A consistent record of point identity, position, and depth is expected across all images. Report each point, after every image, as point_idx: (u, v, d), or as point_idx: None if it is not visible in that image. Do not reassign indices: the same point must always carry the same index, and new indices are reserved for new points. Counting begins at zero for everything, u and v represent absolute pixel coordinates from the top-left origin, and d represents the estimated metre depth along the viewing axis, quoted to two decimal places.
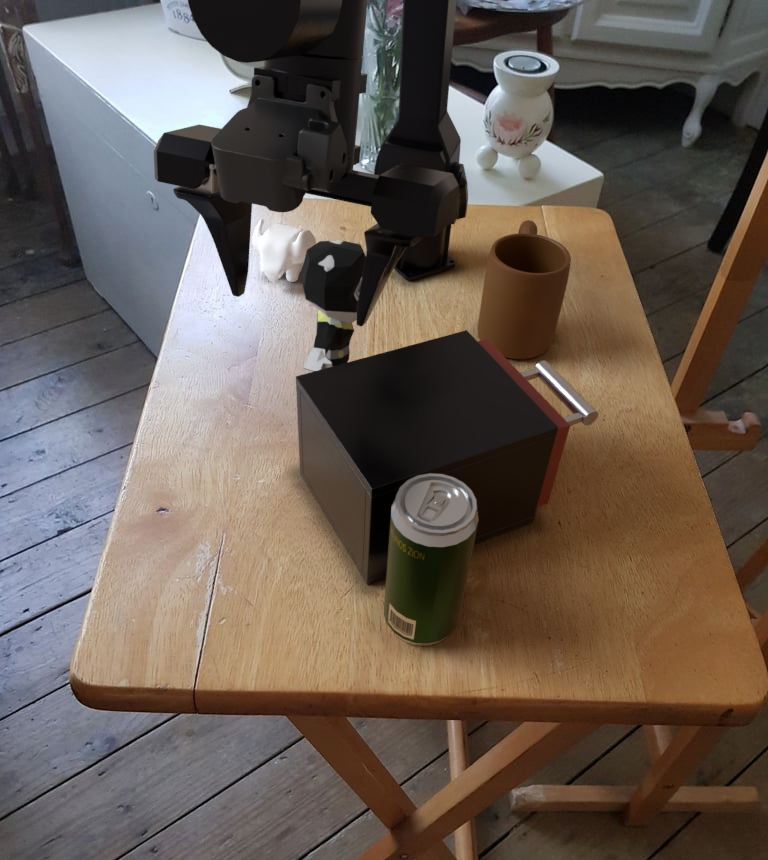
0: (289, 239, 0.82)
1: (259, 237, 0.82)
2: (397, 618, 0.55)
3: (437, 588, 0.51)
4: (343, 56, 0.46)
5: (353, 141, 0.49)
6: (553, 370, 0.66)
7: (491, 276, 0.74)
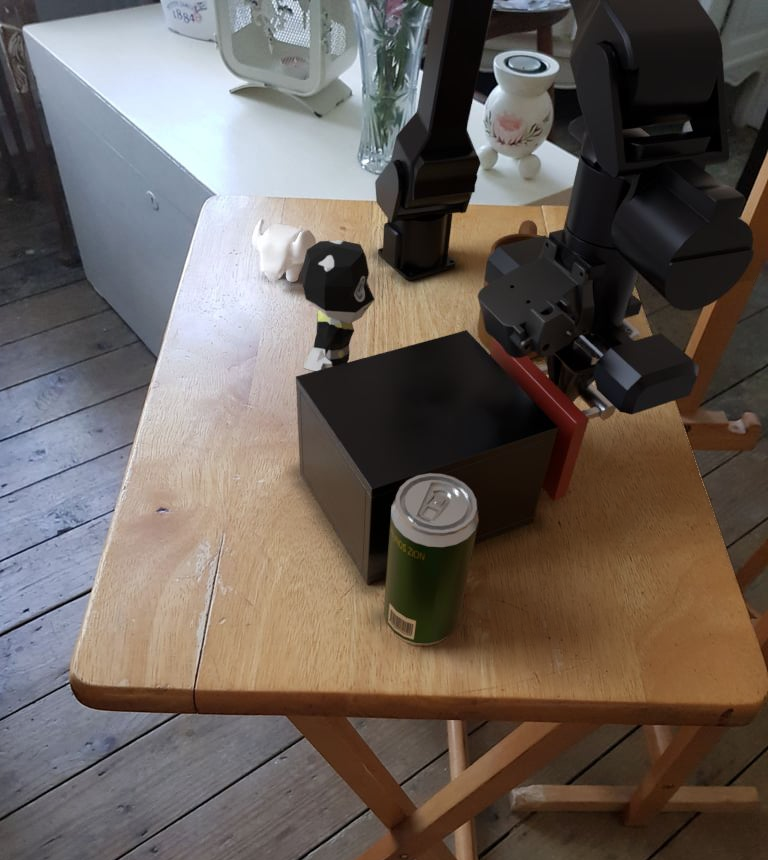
0: (289, 239, 0.82)
1: (259, 237, 0.82)
2: (397, 618, 0.55)
3: (437, 588, 0.51)
4: (612, 246, 0.53)
5: (619, 305, 0.56)
6: None
7: None
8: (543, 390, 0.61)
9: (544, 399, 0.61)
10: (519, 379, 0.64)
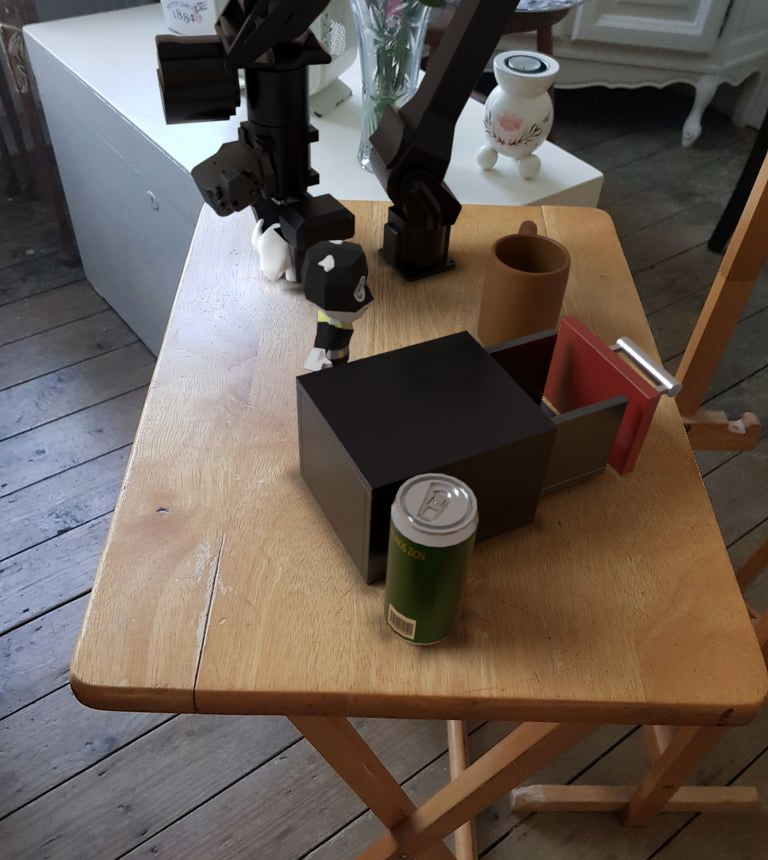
0: None
1: (259, 237, 0.82)
2: (397, 618, 0.55)
3: (437, 588, 0.51)
4: (276, 126, 0.73)
5: (296, 174, 0.76)
6: (635, 345, 0.69)
7: (491, 276, 0.74)
8: (615, 368, 0.64)
9: (616, 376, 0.64)
10: (589, 358, 0.66)
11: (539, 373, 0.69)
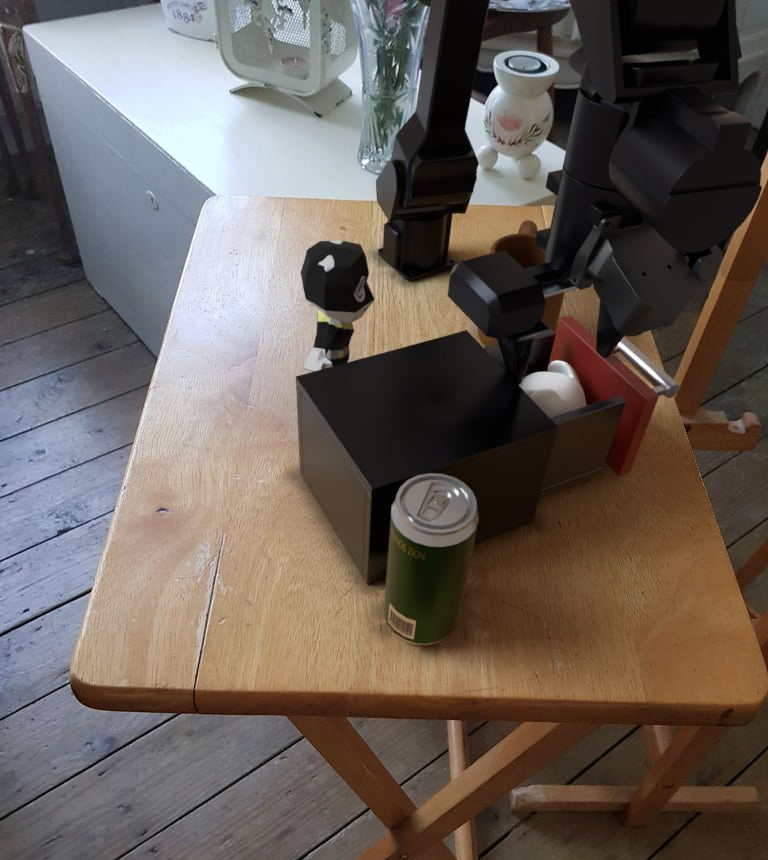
0: (571, 377, 0.65)
1: (565, 402, 0.63)
2: (397, 618, 0.55)
3: (437, 588, 0.51)
4: None
5: None
6: (633, 346, 0.69)
7: None
8: (612, 368, 0.63)
9: (613, 377, 0.64)
10: (586, 358, 0.66)
11: None
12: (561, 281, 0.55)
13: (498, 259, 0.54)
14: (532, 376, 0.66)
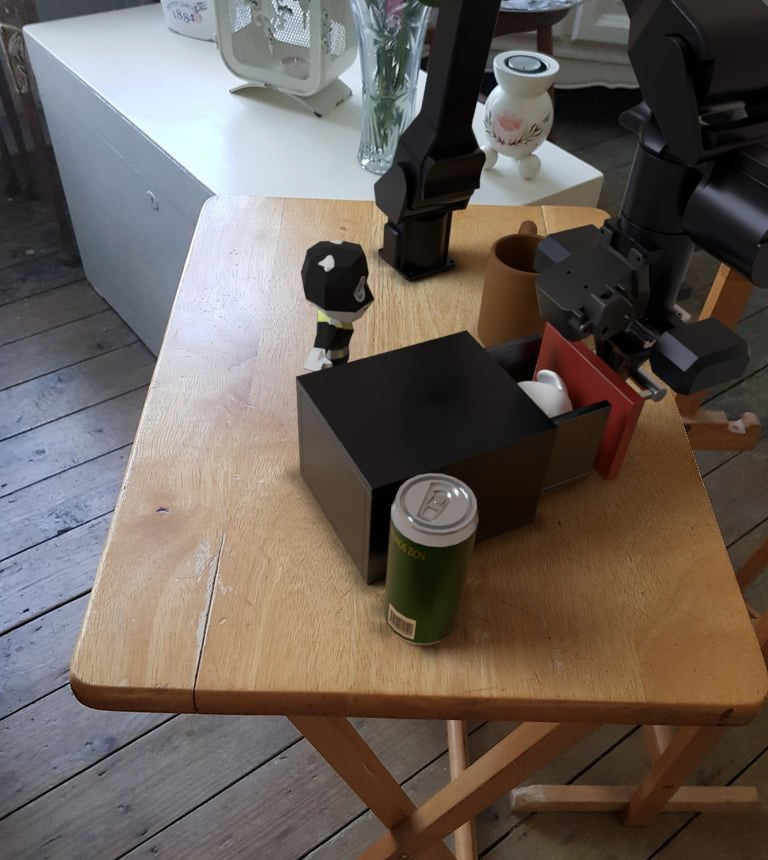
0: (559, 389, 0.64)
1: None
2: (397, 618, 0.55)
3: (437, 588, 0.51)
4: (669, 232, 0.54)
5: (672, 289, 0.58)
6: None
7: (491, 276, 0.74)
8: (599, 373, 0.63)
9: (600, 381, 0.63)
10: (573, 362, 0.66)
11: (524, 378, 0.68)
12: None
13: None
14: (520, 386, 0.65)
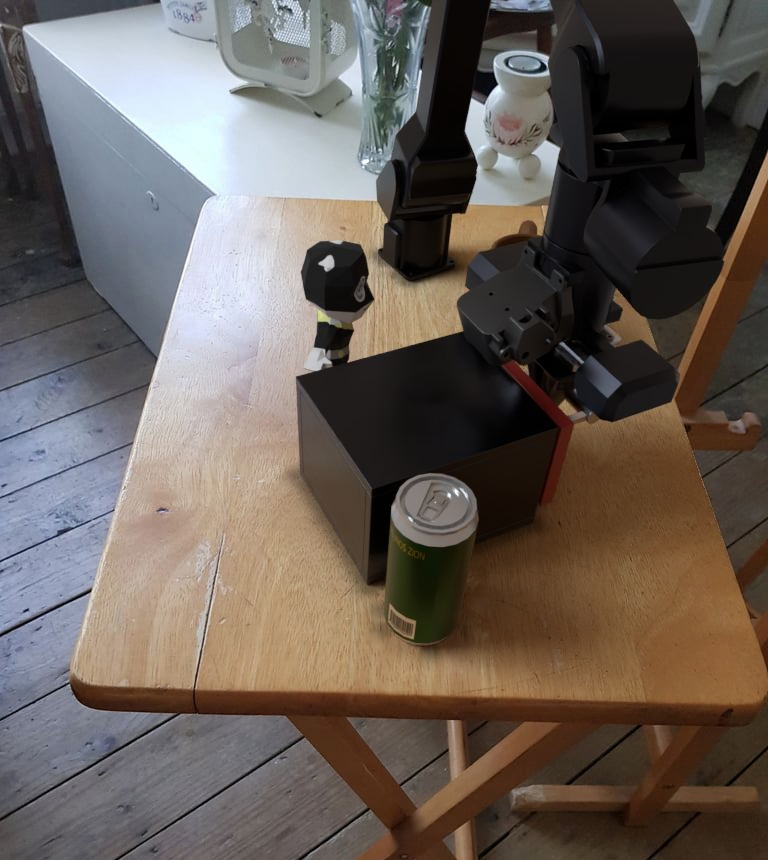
0: None
1: None
2: (397, 618, 0.55)
3: (437, 588, 0.51)
4: None
5: (599, 311, 0.56)
6: None
7: None
8: (529, 394, 0.61)
9: None
10: None
11: None
12: None
13: None
14: None
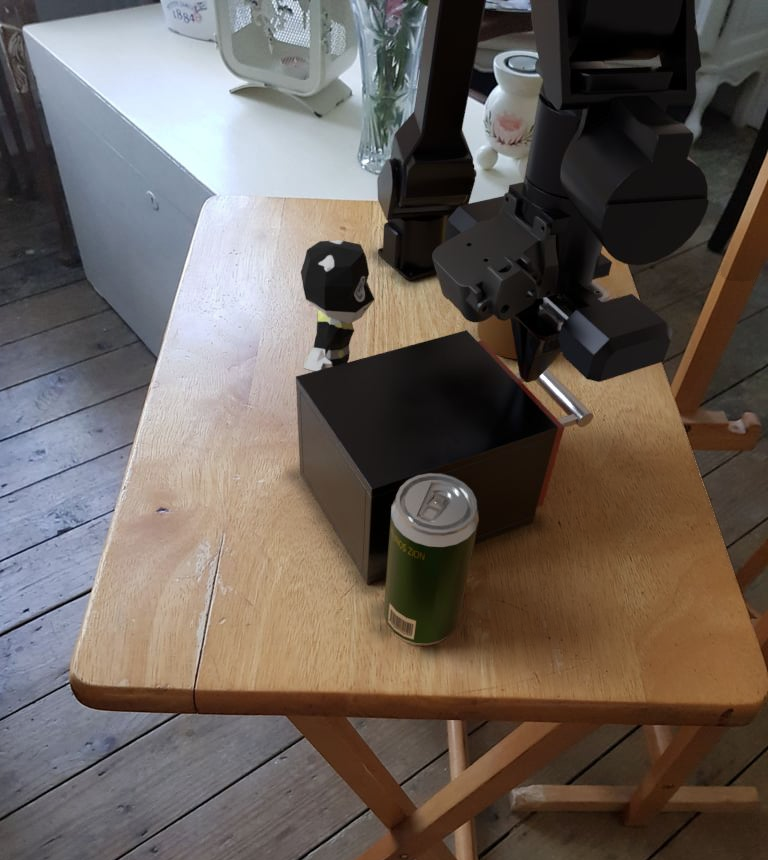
0: None
1: None
2: (397, 618, 0.55)
3: (437, 588, 0.51)
4: None
5: (586, 264, 0.52)
6: (548, 372, 0.66)
7: None
8: None
9: None
10: None
11: None
12: None
13: None
14: None
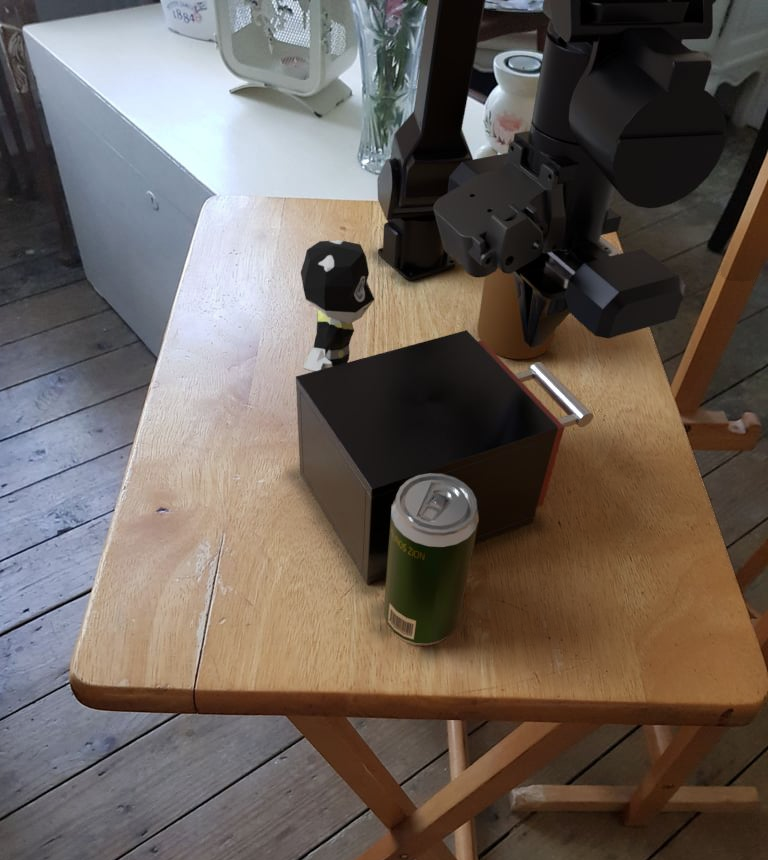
0: None
1: None
2: (397, 618, 0.55)
3: (437, 588, 0.51)
4: None
5: (594, 217, 0.50)
6: (548, 372, 0.66)
7: (491, 276, 0.74)
8: None
9: None
10: None
11: None
12: None
13: None
14: None
